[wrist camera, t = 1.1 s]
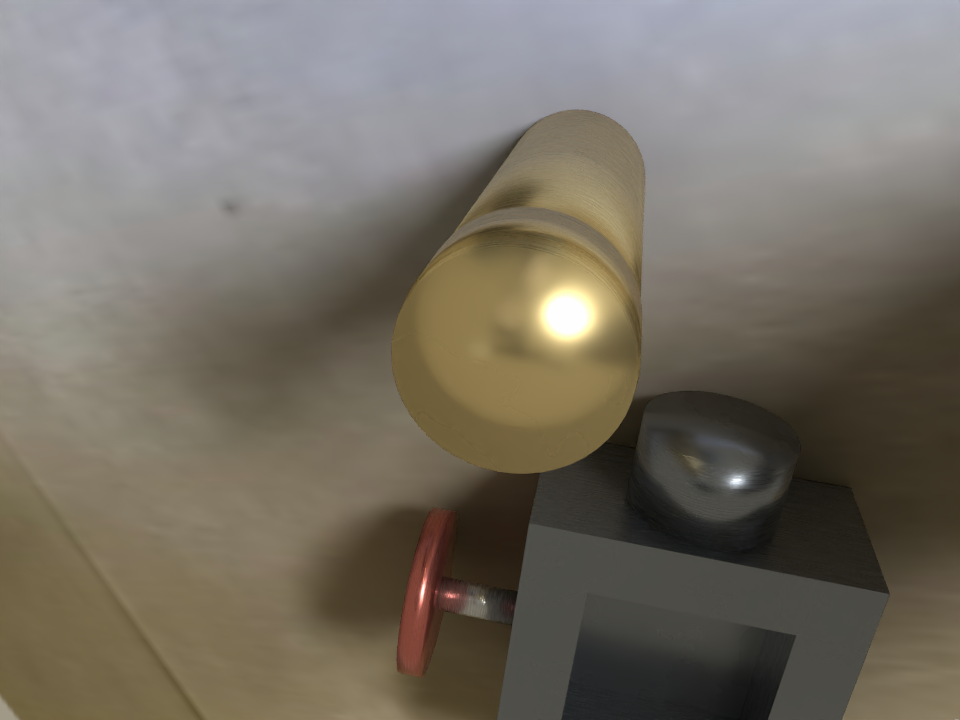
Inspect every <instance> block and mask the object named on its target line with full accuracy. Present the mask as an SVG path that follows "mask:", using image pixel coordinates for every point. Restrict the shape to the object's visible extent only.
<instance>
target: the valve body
mask: <svg viewBox="0 0 960 720" xmlns="http://www.w3.org/2000/svg"><path fill="white" fill-rule="evenodd" d="M800 449H801V444H800V440H799V438H798V436H797V434H796V433H795V431H794V430H793V429H792V428H791V427H790V426H789V425H788V424H787V423H786V422H784V421H783V420H782V419H780V418H779V417H777V416H776V415H774V414H773V413H771V412H769V411H767V410H765V409H763V408H761V407H759V406H757V405H754V404H752V403H749V402H747V401H744V400H741V399H738V398H734V397H730V396H726V395H722V394H717V393H710V392H701V391H678V392H671V393H666V394H663V395H660V396H658V397H655V398H654V399H652V400H651V401H650V402H649V403H648V404H647V405H646V407H645V409H644V414H643V418H642V423H641V427H640V432H639V437H638V441H637V446H636V448H630V447H625V446H620V445H614V444H609V443H603V444H602V445H601V446H600V447H599V448H598V449H596V450H595V451H593V452H592V453H590V454H589V455H588V456H586V457H584V458H582V459H580V460H578V461H576V462H574V463H572V464H570V465H567V466H564V467H561V468H559V469H555V470H550V471H546V472H540V476H539V480H538V485H537V490H536V494H535V499H534V503H533V508H532V512H531V517H530V522H529V527H528V533H527V539H526V545H525V551H524V557H523V564H522V570H521V576H520V582H519V588H518V592H517V591H512V590H507V589H502V588H497V587H492V586H487V585H482V584H478V583H473V582H468V581H463V580H458V579H453V578H450V577H451V571H452V565H453V559H454V552H455V545H456V535H457V513H456V512H455V511H450V510H445V509H440V508H432V509H431V511H430V512H429V514H428V516H427V519H426V521H425V524H424V526H423V529H422V532H421V535H420V538H419V541H418V545H417V548H416V552H415V555H414V559H413V563H412V567H411V571H410V576H409V580H408V585H407V589H406V594H405V599H404V604H403V610H402V616H401V622H400V629H399V637H398V646H397V670H398V672H399V673H402V674H407V675H411V676H416V677H421V678H422V677H423V676H424V674H425V673H426V670H427V668H428V665H429V663H430V660H431V657H432V654H433V650H434V647H435V643H436V640H437V636H438V632H439V628H440V624H441V620H442V616H443V611H446V612H451V613H455V614H460V615H465V616H470V617H475V618H479V619H484V620H489V621H494V622H498V623H503V624H508V625H512V630H511V636H510V643H509V649H508V655H507V661H506V667H505V673H504V679H503V685H502V691H501V697H500V703H499V709H498V715H497V720H842V718H843V715H844V712H845V710H846V707H847V705H848V702H849V699H850V697H851V694H852V692H853V689H854V686H855V684H856V681H857V679H858V676H859V673H860V671H861V668H862V666H863V663H864V660H865V658H866V655H867V652H868V650H869V647H870V645H871V642H872V639H873V637H874V634H875V632H876V629H877V626H878V624H879V621H880V619H881V616H882V613H883V611H884V608H885V606H886V603H887V600H888V598H889V595H890V593H889V590H888V588H887V585H886V582H885V579H884V577H883V574H882V571H881V569H880V566H879V563H878V560H877V558H876V555H875V552H874V549H873V547H872V544H871V541H870V538H869V536H868V533H867V530H866V528H865V525H864V522H863V519H862V517H861V514H860V511H859V508H858V506H857V503H856V500H855V498H854V495H853V492H852V489H851V488H847V487H841V486H836V485H830V484H825V483H820V482H814V481H809V480H803V479H798V478H793V477H792V476H793V473H794V470H795V466H796V463H797V460H798V457H799V453H800Z"/></svg>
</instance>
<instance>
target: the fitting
mask: <svg viewBox="0 0 960 720" xmlns="http://www.w3.org/2000/svg"><path fill="white" fill-rule="evenodd" d="M644 198H645V168H644V162H643V159H642V155H641V153H640V150H639V148H638V146H637V144H636V143H635V141H634V139H633V138H632V137H631V136H630V134H629V133H628V132H627V131H626V130H625V129H624V128H623V127H622V126H621V125H620V124H618V123H617V122H615V121H614V120H612V119H611V118H609V117H607V116H605V115H602V114H599V113H597V112H592V111H588V110H567V111H561V112H557V113H555V114H552V115H549V116H547V117H545V118H543V119H541V120H540V121H538V122H537V123H535V124H534V125H533V126H532V127H531V128H530V129H528V130H527V132H526V133H525V134H524V135H523V136H522V137H521V139H520V140H519V142H518V143H517V144H516V146H515V147H514V149H513V150H512V151H511V153H510V154H509V156H508V157H507V159H506V160H505V161H504V163H503V164H502V166H501V167H500V168H499V170H498V171H497V173H496V174H495V175H494V177H493V178H492V180H491V181H490V182H489V184H488V185H487V187H486V188H485V189H484V191H483V192H482V194H481V195H480V196H479V198H478V199H477V201H476V202H475V203H474V205H473V206H472V208H471V209H470V210H469V212H468V213H467V215H466V216H465V218H464V219H463V220H462V222H461V223H460V225H459V226H458V227H457V229H456V230H455V232H454V233H453V234H452V235H451V236H450V237H449V238H448V239H447V240H446V241H445V243H444V244H443V245H442V246H441V247H440V248H439V250H438V251H437V253H436V254H435V255H434V257H433V258H432V259H431V261H430V262H429V264H428V265H427V266H426V268H425V269H424V271H423V272H422V273H421V275H420V276H419V277H418V279H417V280H416V282H415V283H414V285H413V286H412V288H411V289H410V291H409V292H408V295H407V297H406V299H405V301H404V303H403V305H402V308H401V311H400V313H399V315H398V318H397V321H396V325H395V328H394V332H393V339H392V351H391V360H392V368H393V375H394V378H395V382H396V386H397V389H398V391H399V394H400V396H401V399H402V401H403V403H404V405H405V406H406V408H407V410H408V412H409V413H410V415H411V416H412V418H413V419H414V420H415V422H416V423H417V424H418V426H419V427H420V428H421V429H422V430H423V431H424V432H425V433H426V434H427V435H428V436H429V437H430V438H431V439H432V440H433V441H434V442H436V443H437V444H438V445H439V446H440V447H442V448H443V449H445V450H446V451H448V452H449V453H451V454H452V455H454V456H456V457H458V458H460V459H462V460H464V461H466V462H468V463H471V464H473V465H476V466H479V467H482V468H485V469H489V470H493V471H498V472H505V473H518V474H529V473H539V472H546V471H550V470H555V469H559V468H561V467H564V466H567V465H570V464H572V463H574V462H576V461H578V460H580V459H582V458H584V457H586V456H588V455H589V454H590V453H592V452H593V451H595V450H596V449H598V448H599V447H600V446H601V445H602V444H603V443H604V442H606V441H607V440H608V439H609V438H610V436H611V435H612V434H613V433H614V432H615V431H616V429H617V428H618V427H619V425H620V424H621V422H622V420H623V419H624V417H625V416H626V414H627V411H628V409H629V407H630V405H631V402H632V399H633V395H634V392H635V388H636V385H637V381H638V378H639V372H640V364H641V340H642V305H641V273H642V248H643V223H644Z"/></svg>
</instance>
